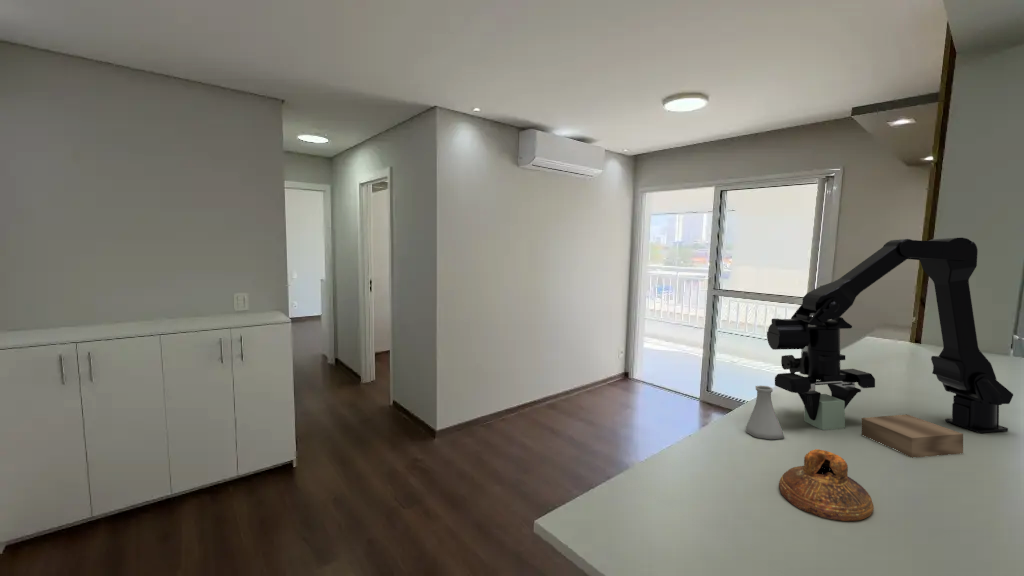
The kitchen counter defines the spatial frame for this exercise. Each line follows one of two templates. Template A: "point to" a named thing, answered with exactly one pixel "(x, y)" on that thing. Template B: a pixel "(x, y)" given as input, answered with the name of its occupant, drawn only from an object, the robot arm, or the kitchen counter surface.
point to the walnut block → (913, 435)
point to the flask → (764, 417)
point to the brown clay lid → (826, 488)
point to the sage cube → (828, 413)
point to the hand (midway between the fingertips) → (824, 418)
